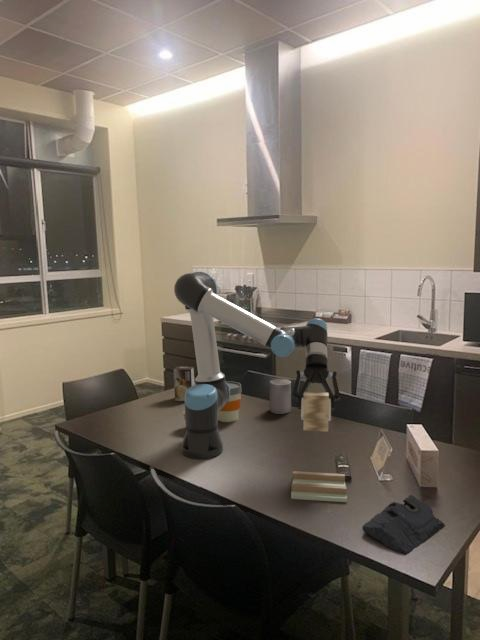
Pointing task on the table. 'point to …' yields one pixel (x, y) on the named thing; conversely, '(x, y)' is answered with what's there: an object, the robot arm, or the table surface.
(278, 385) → the grey tin can
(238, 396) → the reusable coffee cup
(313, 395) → the tan upright rectangular block
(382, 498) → the table surface
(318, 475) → the groove board
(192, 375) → the coffee box
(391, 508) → the folded dark sweater
